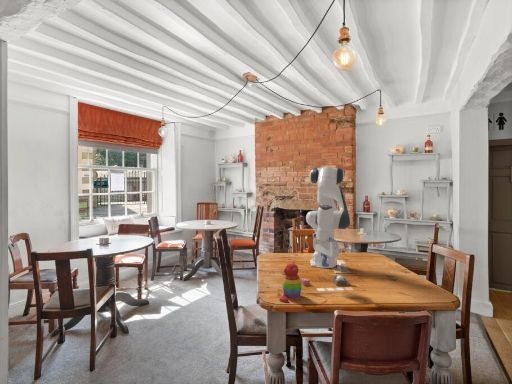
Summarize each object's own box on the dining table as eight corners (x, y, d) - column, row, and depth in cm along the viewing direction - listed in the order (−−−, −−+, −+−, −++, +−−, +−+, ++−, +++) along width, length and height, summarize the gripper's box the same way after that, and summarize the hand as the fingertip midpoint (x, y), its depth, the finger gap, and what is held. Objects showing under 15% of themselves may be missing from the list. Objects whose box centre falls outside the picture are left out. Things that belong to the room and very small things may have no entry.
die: (300, 286, 166) (300, 278, 166) (306, 285, 167) (306, 278, 167) (303, 288, 162) (303, 280, 162) (310, 287, 163) (310, 280, 163)
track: (312, 289, 160) (312, 287, 160) (352, 288, 161) (352, 286, 161) (316, 295, 152) (316, 292, 152) (358, 293, 153) (358, 291, 153)
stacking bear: (284, 294, 154) (284, 260, 153) (303, 296, 150) (303, 261, 150) (278, 301, 144) (278, 265, 143) (298, 304, 140) (298, 267, 140)
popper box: (331, 283, 169) (331, 276, 169) (343, 283, 170) (343, 276, 170) (336, 288, 162) (336, 280, 162) (348, 287, 163) (348, 280, 163)
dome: (334, 282, 168) (334, 274, 168) (342, 282, 168) (342, 274, 168) (337, 285, 164) (337, 277, 164) (345, 285, 164) (345, 276, 164)
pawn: (320, 265, 158) (320, 251, 157) (327, 264, 158) (327, 251, 158) (323, 267, 154) (323, 253, 154) (330, 266, 155) (329, 252, 155)
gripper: (342, 239, 147) (341, 267, 147) (321, 233, 166) (321, 257, 167) (330, 240, 145) (330, 268, 145) (311, 233, 165) (311, 258, 165)
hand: (325, 262), depth 156 cm, fingers closed on pawn, 4 cm apart
